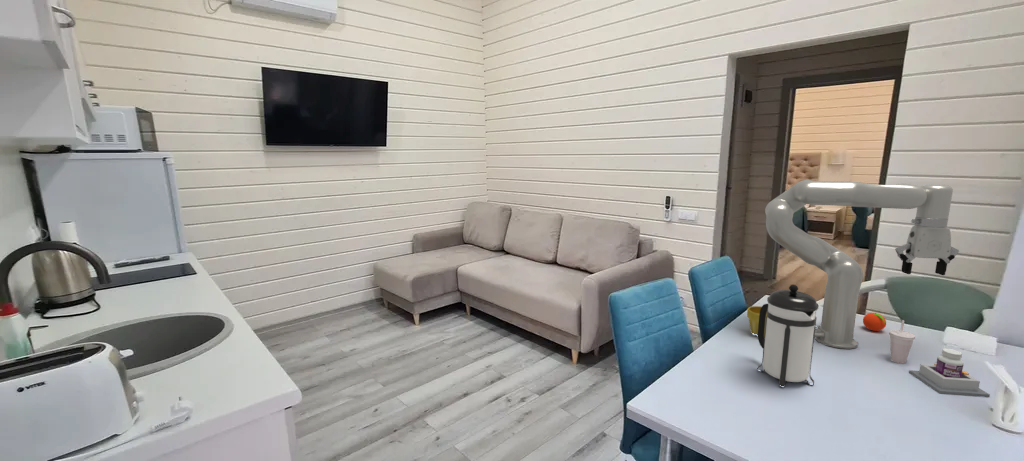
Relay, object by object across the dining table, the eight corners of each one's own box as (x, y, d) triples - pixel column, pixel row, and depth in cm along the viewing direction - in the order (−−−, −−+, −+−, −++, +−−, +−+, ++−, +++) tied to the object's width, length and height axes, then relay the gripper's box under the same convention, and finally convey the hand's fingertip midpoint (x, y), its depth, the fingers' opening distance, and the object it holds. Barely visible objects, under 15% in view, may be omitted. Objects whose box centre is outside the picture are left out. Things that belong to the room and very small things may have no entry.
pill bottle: (943, 385, 123) (948, 354, 121) (929, 376, 128) (934, 346, 126) (965, 387, 122) (970, 356, 120) (950, 377, 127) (955, 347, 125)
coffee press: (818, 375, 131) (829, 283, 126) (809, 396, 120) (820, 296, 115) (755, 358, 143) (763, 273, 138) (742, 376, 132) (750, 284, 126)
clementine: (892, 335, 159) (895, 317, 158) (873, 335, 159) (876, 317, 158) (874, 326, 167) (877, 309, 166) (857, 326, 167) (859, 309, 166)
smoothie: (904, 357, 141) (911, 318, 139) (915, 366, 135) (922, 325, 133) (881, 355, 143) (887, 316, 141) (891, 364, 137) (897, 323, 135)
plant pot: (757, 327, 168) (759, 304, 166) (783, 337, 159) (785, 312, 157) (739, 332, 164) (741, 308, 162) (764, 342, 155) (766, 317, 153)
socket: (939, 393, 120) (942, 380, 120) (908, 372, 132) (910, 360, 131) (989, 397, 118) (992, 383, 117) (953, 375, 130) (955, 362, 129)
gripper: (908, 224, 135) (901, 275, 138) (972, 225, 132) (963, 277, 135) (892, 220, 142) (885, 269, 145) (952, 221, 139) (944, 271, 142)
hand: (922, 273), depth 140 cm, fingers open, 9 cm apart
